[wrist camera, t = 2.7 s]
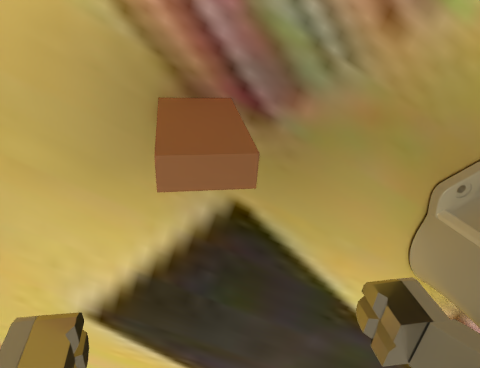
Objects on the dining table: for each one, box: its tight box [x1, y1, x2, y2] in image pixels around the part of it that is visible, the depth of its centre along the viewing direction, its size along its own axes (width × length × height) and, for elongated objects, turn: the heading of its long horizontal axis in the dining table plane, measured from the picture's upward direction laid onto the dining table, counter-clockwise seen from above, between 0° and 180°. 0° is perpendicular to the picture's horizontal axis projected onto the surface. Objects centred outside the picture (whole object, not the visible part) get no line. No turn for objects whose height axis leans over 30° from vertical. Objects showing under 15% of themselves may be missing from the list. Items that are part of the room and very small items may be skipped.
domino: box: [155, 98, 259, 192], centre depth 21 cm, size 2×5×9 cm, turn 86°
